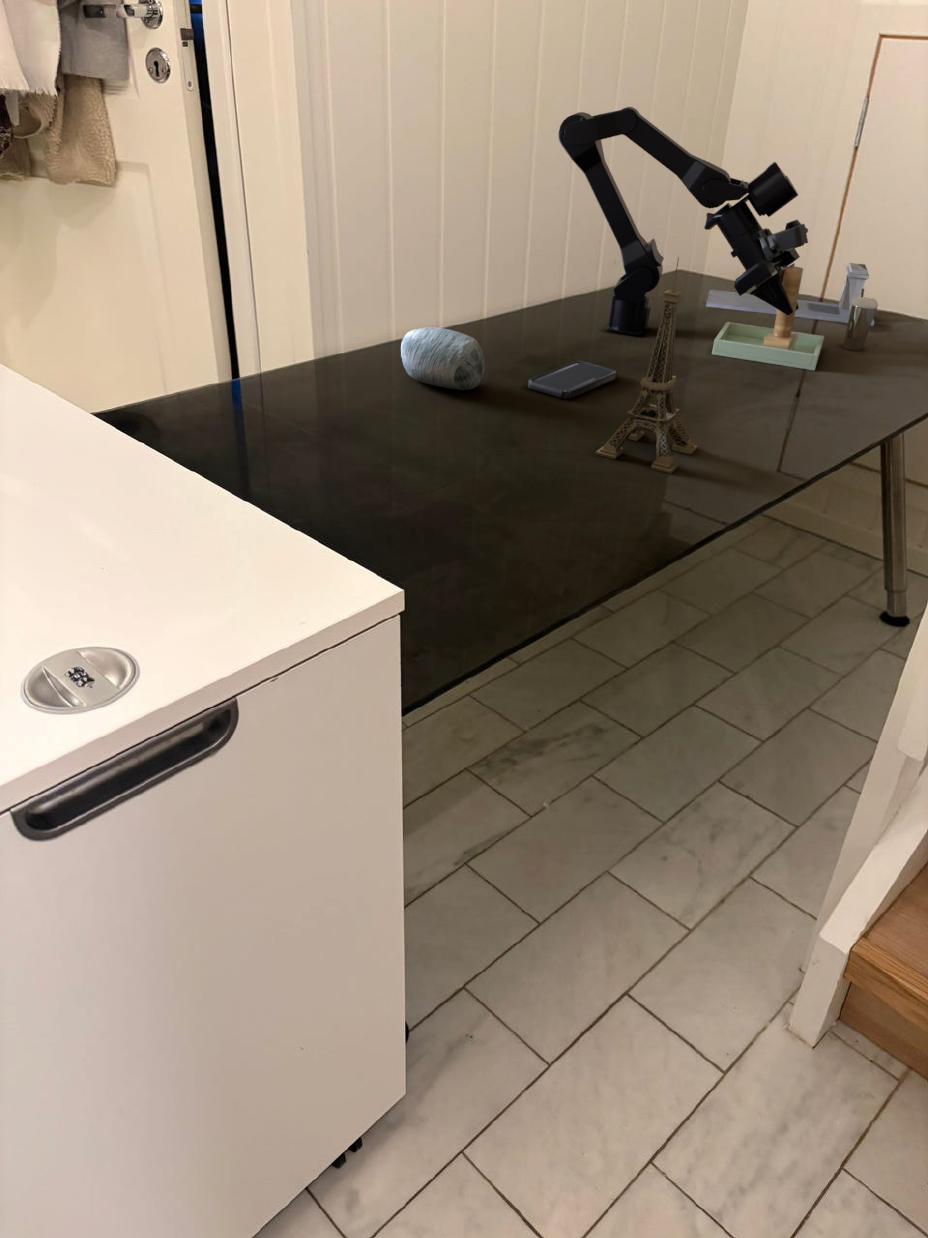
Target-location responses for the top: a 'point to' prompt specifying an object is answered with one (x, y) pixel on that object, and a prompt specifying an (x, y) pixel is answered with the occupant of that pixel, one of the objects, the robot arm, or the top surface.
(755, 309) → the monument
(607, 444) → the eiffel tower
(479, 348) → the blue yarn skein
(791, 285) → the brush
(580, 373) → the phone
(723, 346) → the tray
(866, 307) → the milkshake
